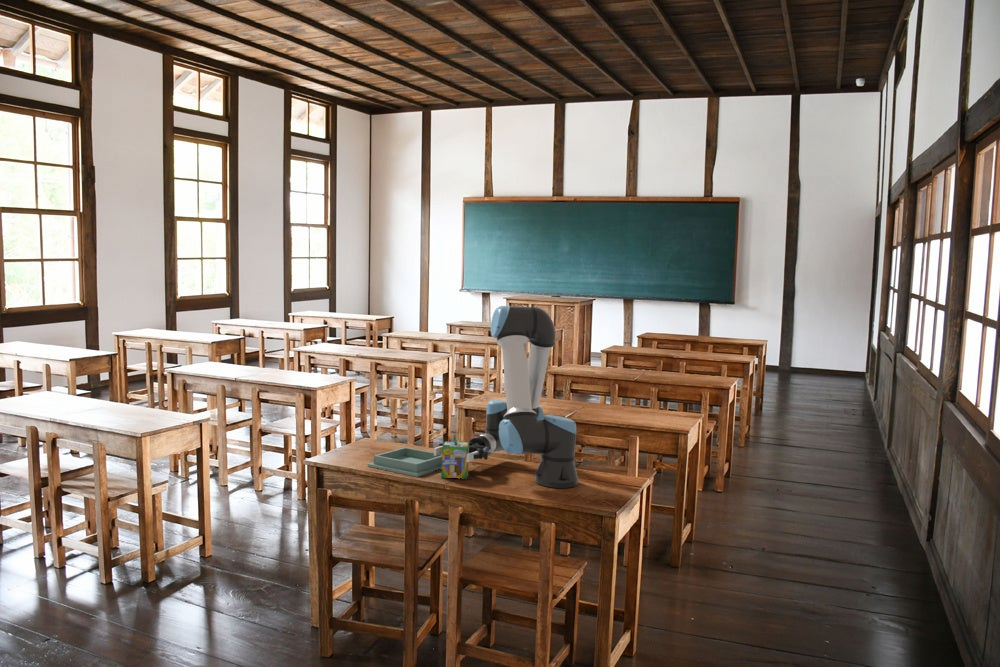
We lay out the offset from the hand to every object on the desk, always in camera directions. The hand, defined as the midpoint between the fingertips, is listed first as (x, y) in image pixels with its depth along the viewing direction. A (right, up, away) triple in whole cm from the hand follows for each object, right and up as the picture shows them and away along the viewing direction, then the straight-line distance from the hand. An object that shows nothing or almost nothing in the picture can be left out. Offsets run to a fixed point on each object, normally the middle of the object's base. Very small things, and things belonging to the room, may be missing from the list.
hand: (450, 455), depth 261 cm
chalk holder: (-16, -6, +14) cm, 22 cm away
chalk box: (+1, -8, +3) cm, 9 cm away
